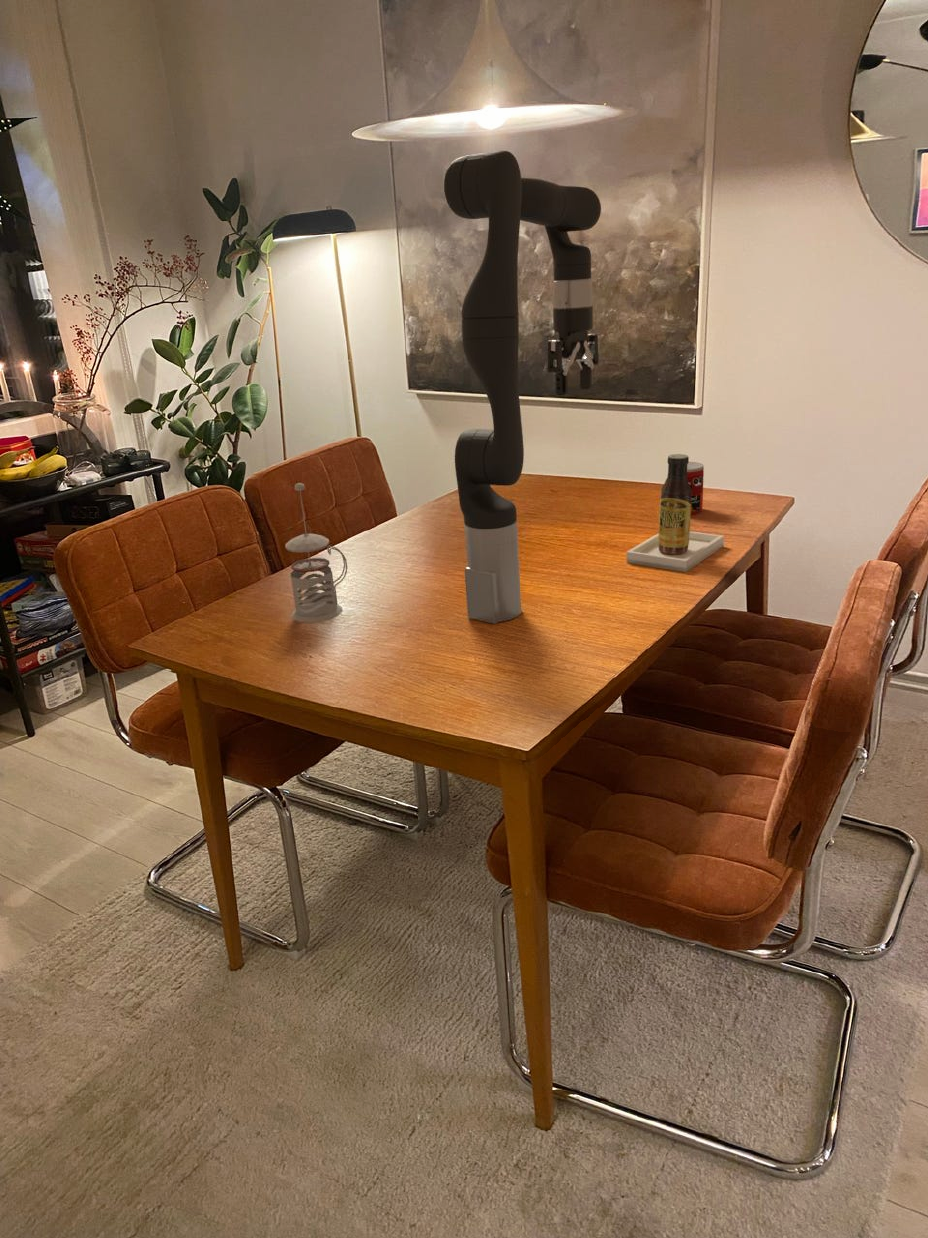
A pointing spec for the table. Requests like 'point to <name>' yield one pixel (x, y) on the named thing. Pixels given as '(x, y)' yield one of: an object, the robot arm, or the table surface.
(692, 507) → the canned food
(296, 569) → the french press
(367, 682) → the table surface
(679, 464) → the sauce bottle
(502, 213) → the robot arm
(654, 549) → the white tray
